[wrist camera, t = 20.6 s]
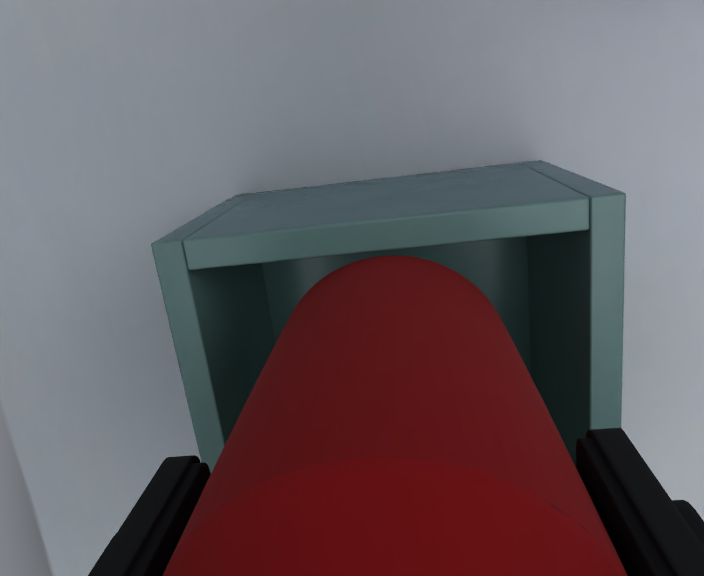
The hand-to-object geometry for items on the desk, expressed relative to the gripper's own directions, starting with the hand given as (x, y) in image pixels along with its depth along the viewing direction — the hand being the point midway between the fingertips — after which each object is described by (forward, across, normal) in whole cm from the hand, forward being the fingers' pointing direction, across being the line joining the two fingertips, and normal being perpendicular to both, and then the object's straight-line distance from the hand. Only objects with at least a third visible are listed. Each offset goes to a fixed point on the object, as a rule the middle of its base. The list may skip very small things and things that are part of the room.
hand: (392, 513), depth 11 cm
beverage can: (+7, 0, 0) cm, 7 cm away
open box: (+15, 0, +3) cm, 15 cm away
